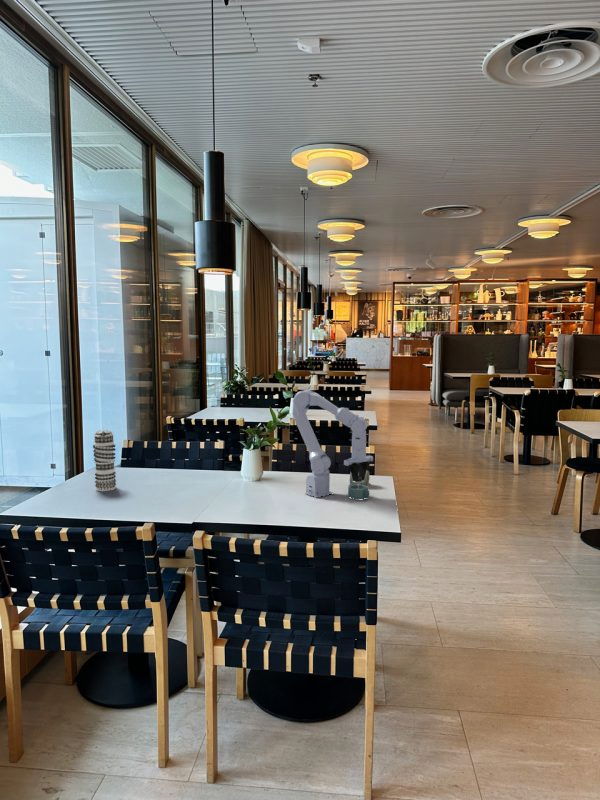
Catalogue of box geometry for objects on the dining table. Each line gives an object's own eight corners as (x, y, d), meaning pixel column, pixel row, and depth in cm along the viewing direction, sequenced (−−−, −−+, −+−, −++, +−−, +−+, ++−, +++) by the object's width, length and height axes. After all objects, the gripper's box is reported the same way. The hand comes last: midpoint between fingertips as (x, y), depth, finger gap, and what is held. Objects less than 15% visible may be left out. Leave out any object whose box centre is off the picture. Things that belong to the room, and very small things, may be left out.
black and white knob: (358, 493, 223) (358, 478, 222) (348, 490, 227) (348, 475, 226) (368, 491, 226) (368, 476, 226) (358, 488, 231) (358, 473, 230)
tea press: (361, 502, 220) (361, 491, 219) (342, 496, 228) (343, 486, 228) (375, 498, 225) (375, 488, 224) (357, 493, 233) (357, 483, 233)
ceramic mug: (368, 488, 240) (368, 471, 239) (349, 487, 242) (349, 470, 241) (370, 482, 251) (370, 466, 250) (352, 481, 252) (352, 465, 252)
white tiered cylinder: (102, 492, 233) (100, 433, 230) (90, 489, 238) (87, 431, 236) (121, 488, 240) (119, 430, 237) (108, 484, 246) (106, 428, 243)
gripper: (352, 451, 217) (352, 485, 219) (378, 447, 226) (378, 479, 228) (340, 448, 223) (340, 481, 224) (366, 444, 232) (365, 476, 233)
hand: (358, 480), depth 226 cm, fingers closed on black and white knob, 3 cm apart
